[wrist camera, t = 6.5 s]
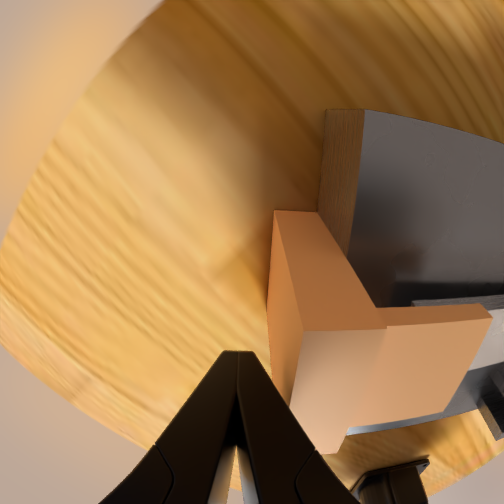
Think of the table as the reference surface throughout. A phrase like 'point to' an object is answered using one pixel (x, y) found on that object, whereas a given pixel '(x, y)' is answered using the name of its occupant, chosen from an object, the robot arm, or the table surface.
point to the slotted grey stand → (418, 225)
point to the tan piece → (356, 340)
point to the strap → (498, 335)
